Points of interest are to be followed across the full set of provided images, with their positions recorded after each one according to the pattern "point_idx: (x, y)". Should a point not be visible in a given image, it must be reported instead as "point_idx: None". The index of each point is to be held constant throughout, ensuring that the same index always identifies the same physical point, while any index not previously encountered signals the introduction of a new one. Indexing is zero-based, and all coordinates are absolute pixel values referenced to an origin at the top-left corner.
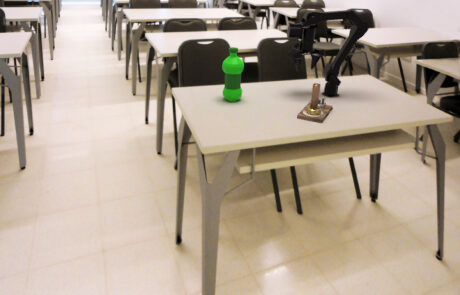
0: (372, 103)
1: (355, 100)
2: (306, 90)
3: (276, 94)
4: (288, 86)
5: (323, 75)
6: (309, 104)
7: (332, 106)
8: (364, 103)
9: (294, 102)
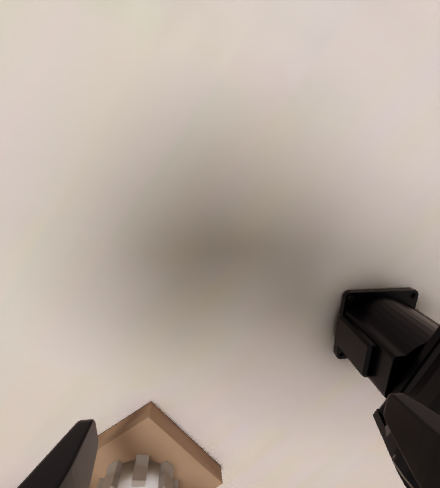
0: None
1: None
2: (310, 194)
3: (40, 176)
4: (254, 34)
5: (437, 392)
6: (119, 446)
7: (221, 480)
8: None
9: (87, 350)
